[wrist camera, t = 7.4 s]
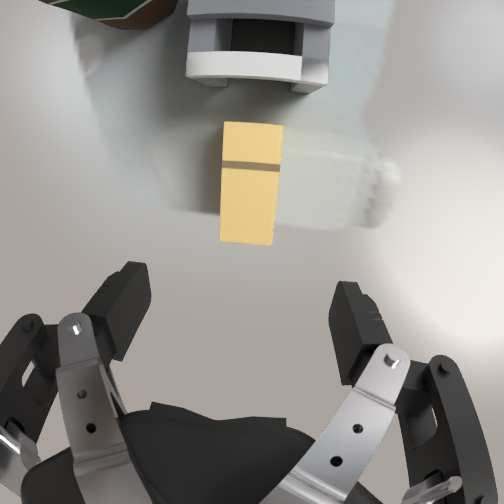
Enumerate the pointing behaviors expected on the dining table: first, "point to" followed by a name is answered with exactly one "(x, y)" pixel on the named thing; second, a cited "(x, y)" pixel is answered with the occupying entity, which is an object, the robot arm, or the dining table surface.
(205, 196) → the dining table surface
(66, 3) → the beer bottle
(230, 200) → the yellow rectangular block
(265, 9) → the dispenser
